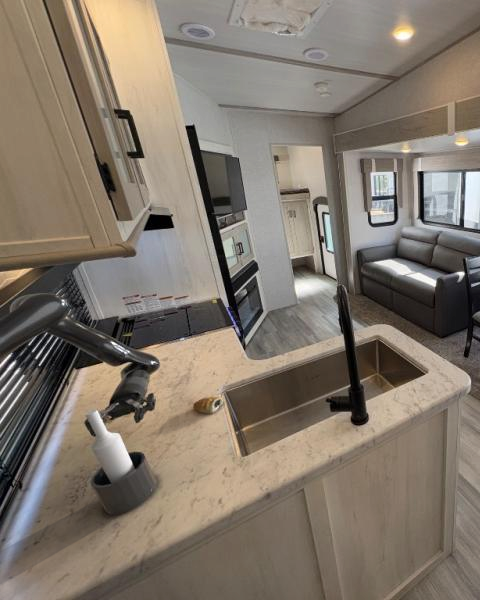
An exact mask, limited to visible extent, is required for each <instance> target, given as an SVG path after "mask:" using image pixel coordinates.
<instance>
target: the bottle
mask: <svg viewBox="0 0 480 600" xmlns="http://www.w3.org/2000/svg"><path fill="white" fill-rule="evenodd" d="M97 409H98V408H92V409H90V410H88V411H86V412H85V413H84V415H85V417H86V419H88V421H89V423H90V424H91V426H92V428H93V430H94V432H95V434H96V436H95V437H94V438H95V440H94V441H93V442H92V444H91V447H90V449H91V450H92V452H93V454H94V456H95V457H96V459H97V461H98V463H99V464H100V466H101V467H102V468H103V470H104V471H105V473H106V475H107V477H108V478H109V480H110V482H111V484H112V483H114V482H117V481H119V480H121V479H123V478H125V477H126V476H128V475H129V474H130V473H132V472H133V471H134V470H135V468H134V466H133V464H132V461H131V459H130V457H129V454H128V453H129V452H128V450H127V448H126V445H125V443H124V441H123V439H122V436H121V434H120V433H119V432H111V431H108V430H107V427H106V426H105V425H106V424H105V425H104V423H103V419H101V417H100V415H99V413H98V411H99V410H97Z"/></svg>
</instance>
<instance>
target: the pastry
mask: <svg viewBox="0 0 480 600" xmlns="http://www.w3.org/2000/svg"><path fill="white" fill-rule="evenodd" d="M223 403H224V399H223V398H222V397H221V396H212V395H210V396H209V397H203V398H201V399H198V400H196V401H195V402H194V403H193V404H192V405H193V409H195V410H196V411H198V412H199V413H202V414H203V413H204V414H213V413H215V412H216V411H217V410H218V409H219V408H220V407H221V406H222V405H223Z"/></svg>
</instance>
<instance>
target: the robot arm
mask: <svg viewBox="0 0 480 600" xmlns="http://www.w3.org/2000/svg"><path fill="white" fill-rule="evenodd" d="M70 308H71V305H70V303H69V301H68V300H67V299H66V298H64V297H63V296H62V295H58V294H55V293H49V292H39V293H30V294H25V295H22V296H19V297H18V298H16V299H15V300H13V302H12V303H11V304H10V307H9V313H7V314H6V315H5V316H3V317H1V318H0V362H2V361H3V360H4V359H5V358H7V357H8V356H10V355H11V354H12V353H13V352H14V351H16V350H17V349H18V348H20V347H21V346H23V345H25V344H26V343H28V342H29V341H31V340H32V339H35V338H36V337H38V336H39V335H41V334H43V333H47V334H49V335H52V336H54V337H56V338H57V339H60V340H62V341H65V342H67V343H69V344H71V345H72V346H75V348H77V349H79V350H82V351H83V352H85V353H86V354H88V355H90V356H92V357H94V358H96V359H97V360H99V361H101V362H103V363H104V364H106V365H108V366H110V367H112V368H113V367H114V368H116V367H120V366H123V365H125V364H127V365H125V366H124V367H123V368H122V369H121V370H120V373H119V374H120V379H121V380H120V382H119V383H118V384H117V386H116V388H115V389H114V391H113V393H112V395H111V397H110V399H109V402H108V405H107V406H106V407H105V408H104V409H102V410H98V408H96V409H97V410H98V413H99V415H100V417H101V419H102V421H103V423H104V425H107V424H111V423H112V422H114V421H115V420H117V419H118V418H121V417H123V416H128V415H131V414H134V415H133V420H134V423H135V424H138V423H141V421H142V420H143V419H144V417H145V415H146V414H147V412H152V411H154V410H155V408H156V402H157V398H156V397H155V395H154V393H153V392H150V393H148V388H149V384H150V381H151V375H153V374H154V373H156V372H157V371H158V370H159V369H160V367H161V362H160V359H158V357H157V356H155V355H153V354H151V353H148V352H145V351H141V350H137V349H134V348H131V347H129V346H128V345H126V344H124V343H122V341H119V340H117V339H116V338H114V337H112V336H111V335H108V334H106V333H104V332H101V331H100V330H97V329H95V328H93V327H90V326H89V325H86V324H84V323H83V322H81V321H79V320H77V319H76V318H74V317H72V316H71V315H69V314H70V312H71V309H70ZM147 393H148V394H147ZM144 404H145V405H144ZM83 423H84V426H85V427H86V429H87V431H88V432H89V434H90V436H92V437H93V438H96V437H97V436H96V434H95V432H94V430H93V428H92V426H91V424H90V423H89V421H88V419H87V418H86V419H85V420H84V422H83Z"/></svg>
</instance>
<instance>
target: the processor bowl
mask: <svg viewBox="0 0 480 600" xmlns="http://www.w3.org/2000/svg"><path fill="white" fill-rule="evenodd" d="M128 454H129V457H130V459H131V461H132V464H133V466H134V468H135V470H134V471H133V472H132V473H130V474H129V475H128V476H126V477H125V478H123V479H121V480H119V481H117V482H114V483H112V484H111V482H110V480H109V478H108V477H107V475H106V473H105V471H104V470H103V468H102V466H101V467H100V468H99V469H97V470H96V471H95V473H94V474H93V475H92V477H91V479H90V487H91V488H92V490H93V492H94V493H95V495H96V496H97V498H98V500H99V503H100V504H101V506H102V507H103V509H104V510H105V512H106V513H107V514H109V515H113V516H117V515H122V514H125V513H128V512H129V511H132V510H133V509H136V508H137V507H138V506H140V505H141V504H143V503H144V502H145V501H146V500H147V499H148V498H149V497H150V496H151V495H152V494H153V493H154V492H155V490H156V488H157V483H158V482H157V479H156V477H155V475H154V473H153V470H152V468H151V466H150V463H149V462H148V461H149V460H148V459H147V457H146V455H145V453H144V452H141V451H132V452H128Z"/></svg>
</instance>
